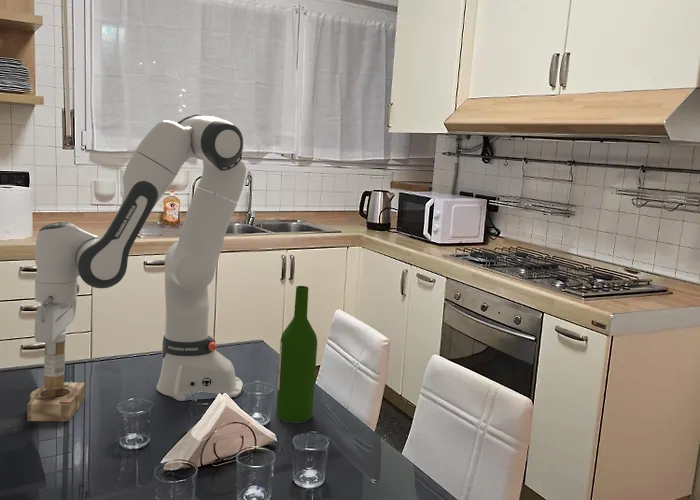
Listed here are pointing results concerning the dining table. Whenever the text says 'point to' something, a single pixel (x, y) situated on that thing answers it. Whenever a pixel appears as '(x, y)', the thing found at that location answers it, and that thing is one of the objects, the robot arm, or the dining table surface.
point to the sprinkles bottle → (55, 365)
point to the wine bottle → (297, 364)
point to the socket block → (55, 403)
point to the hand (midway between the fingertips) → (55, 350)
